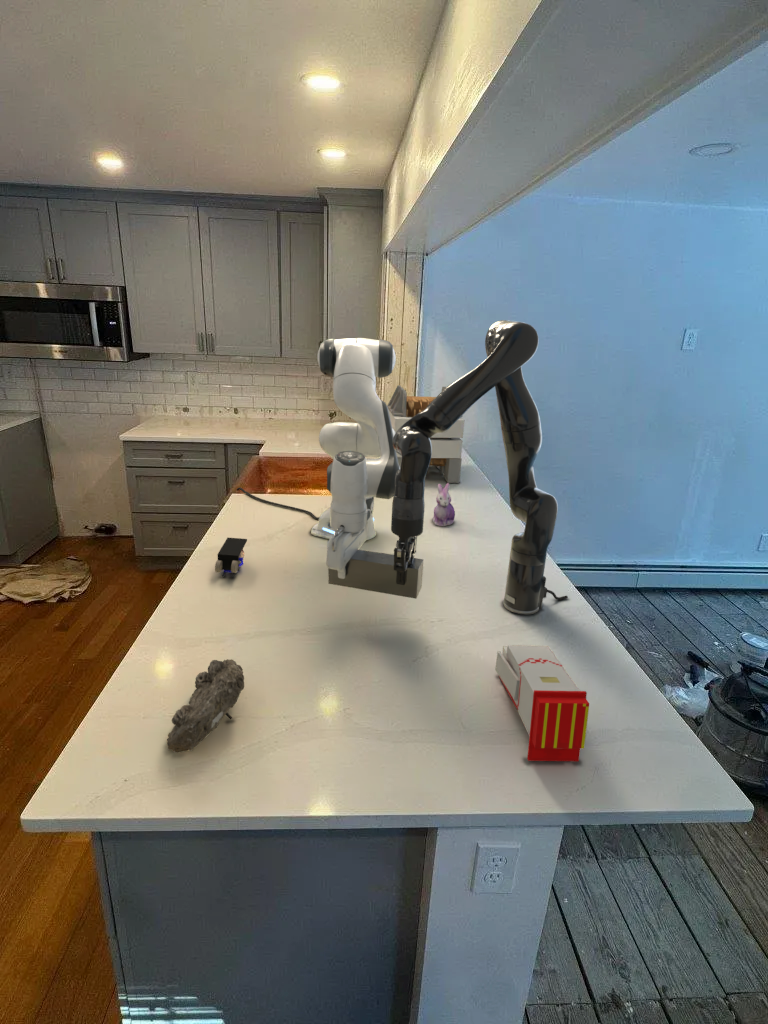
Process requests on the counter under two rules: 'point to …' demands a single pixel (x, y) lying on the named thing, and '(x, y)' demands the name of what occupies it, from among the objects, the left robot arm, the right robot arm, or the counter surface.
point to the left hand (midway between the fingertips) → (347, 571)
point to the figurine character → (230, 556)
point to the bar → (379, 574)
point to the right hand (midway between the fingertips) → (404, 578)
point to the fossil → (206, 705)
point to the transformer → (443, 444)
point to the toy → (545, 701)
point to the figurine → (443, 507)
